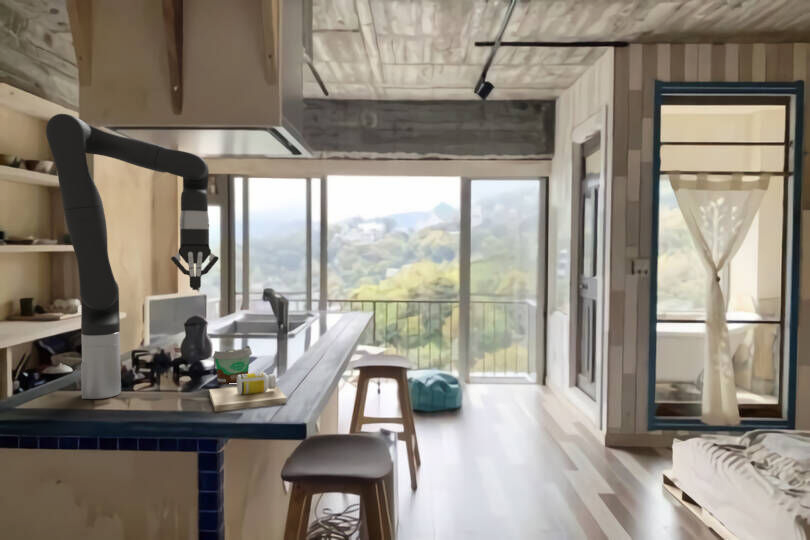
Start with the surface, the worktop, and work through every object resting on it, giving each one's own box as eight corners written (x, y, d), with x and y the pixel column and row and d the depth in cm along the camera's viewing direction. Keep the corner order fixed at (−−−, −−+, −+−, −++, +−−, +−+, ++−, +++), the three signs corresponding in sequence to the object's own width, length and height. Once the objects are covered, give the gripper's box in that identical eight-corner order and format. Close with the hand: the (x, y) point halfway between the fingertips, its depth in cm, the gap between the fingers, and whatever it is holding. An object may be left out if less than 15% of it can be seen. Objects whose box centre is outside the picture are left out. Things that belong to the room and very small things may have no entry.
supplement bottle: (237, 398, 150) (274, 394, 154) (239, 389, 146) (277, 385, 150) (235, 380, 153) (272, 377, 157) (237, 370, 149) (274, 367, 153)
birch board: (215, 411, 140) (215, 405, 140) (209, 394, 155) (209, 389, 155) (286, 403, 148) (286, 397, 148) (274, 388, 162) (274, 383, 162)
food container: (226, 388, 162) (225, 354, 161) (213, 384, 166) (213, 351, 165) (260, 379, 172) (260, 347, 171) (247, 376, 175) (247, 345, 175)
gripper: (218, 228, 162) (218, 288, 163) (168, 227, 156) (169, 289, 157) (221, 228, 155) (221, 290, 156) (169, 227, 149) (169, 291, 150)
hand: (195, 289), depth 157 cm, fingers closed
